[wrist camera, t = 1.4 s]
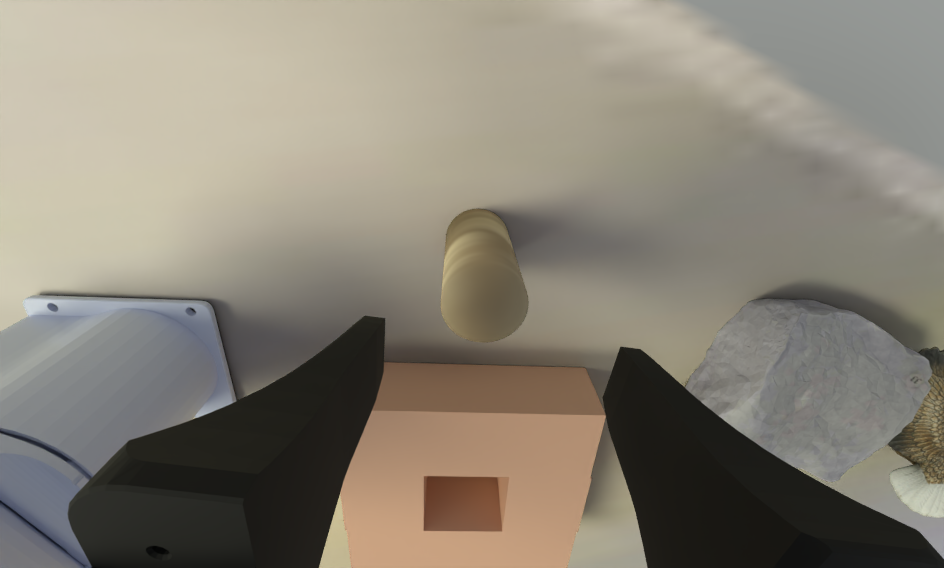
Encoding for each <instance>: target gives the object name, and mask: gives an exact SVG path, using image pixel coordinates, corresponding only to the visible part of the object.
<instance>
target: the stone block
mask: <svg viewBox="0 0 944 568" xmlns="http://www.w3.org/2000/svg"><path fill="white" fill-rule="evenodd" d="M931 376H932V369H931V368H930V364H929V360H927V359H926V358H925V357H923V356H922V355H920V354H919V353H917V352H916V351H914V350H912V349H910V348H907V347H905V346H903V345H902V344H901V343H900V342H899V341H897V340H896V339H895V338H894V337H893V336H892V335H891V334H890V333H887V332H886V331H885V330H883V329H882V328H881V327H879V326H877V325H875V324H874V323H873V322H871V321H868V320H867V319H865V318H864V317H862V316H860V315H858V314H856V313H855V312H852V311H849V310H844V309H837V308H835V307H833V306H831V305H827V304H823V303H820V302H818V301H815V300H806V299H801V300H789V299H769V298H767V299H758V300H753V301H750V302H748V303H747V304H746V305H745V306H743V307H742V308H741V309H740V311H739V312H738V313H737V314H736V315H735V316H734V317H733V318H732V319H731V320H730V321H728V322H727V323H726V324H725V325H724V326H723V327H722V328H721V329H720V330H719V331H718V333H717V336H716V337H715V339H714V341H713V343H712V345H711V347H710V348H709V349H708V350H707V354H706V357H705V359H704V361H703V362H702V363H701V364H700V366H699V367H698V368H697V369H696V370H695V371H694V373H693V374H692V375H691V376H690V378H689V381H688V383H687V385H686V387H685V388H686V389H687V390H688V391H689V392H690V393H691V394H692V395H694V396H695V397H696V398H697V399H698V400H700V401H701V402H702V403H703V404H704V405H705V406H707V407H708V408H709V409H711V410H712V411H713V412H714V413H716V414H717V415H718V416H719V417H721V418H722V419H723V420H724V421H726V422H727V423H728V424H730V425H731V426H732V427H734V428H735V429H736V430H738V431H739V432H741V433H742V434H744V435H745V436H746V437H748V438H749V439H751V440H752V441H754V442H755V443H756V444H758V445H759V446H761V447H762V448H764V449H765V450H767V451H769V452H770V453H772V454H773V455H775V456H776V457H778V458H780V459H781V460H783V461H785V462H786V463H788V464H790V465H791V466H793V467H796V468H800V469H804V470H805V471H807V472H809V473H811V474H813V475H815V476H816V477H818V478H820V479H822V480H825V481H830V482H834V481H837V480H839V479H840V477H841V476H842V475H843V474H844V473H845V472H846V471H847V470H848V469H849V468H851V467H853V466H855V465H856V464H858V463H859V462H861V461H863V460H865V459H866V458H868V457H869V456H871V455H872V454H873V453H874V452H875V451H877V450H879V449H880V448H883V447H884V446H886V445H887V444H888V443H889V442H890V441H891V440H892V439H893V438H894V437H895V436H896V435H898V434H899V433H900V432H902V429H903V428H904V427H905V426H906V425H908V424H909V423H910V422H911V421H913V419H914V416H915V414H916V413H917V411H918V409H919V408H920V406H921V404H922V402H923V399H924V397H925V396H926V395H927V394H928V393H929V391H930V389H931V386H930V384H929V382H928V380H929V379H930V377H931Z"/></svg>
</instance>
